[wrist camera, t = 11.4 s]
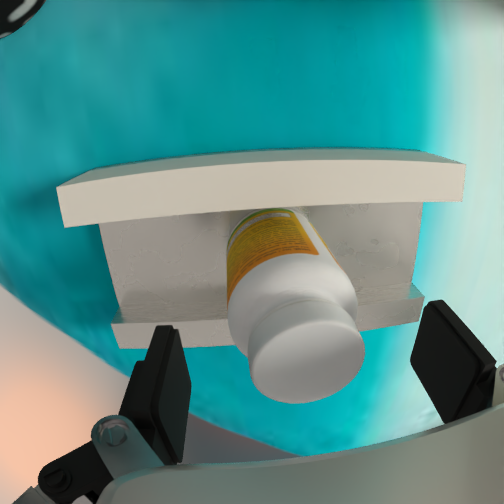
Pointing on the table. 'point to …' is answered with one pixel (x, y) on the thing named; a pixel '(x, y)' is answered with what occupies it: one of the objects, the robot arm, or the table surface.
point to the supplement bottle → (291, 307)
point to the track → (240, 205)
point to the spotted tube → (16, 14)
